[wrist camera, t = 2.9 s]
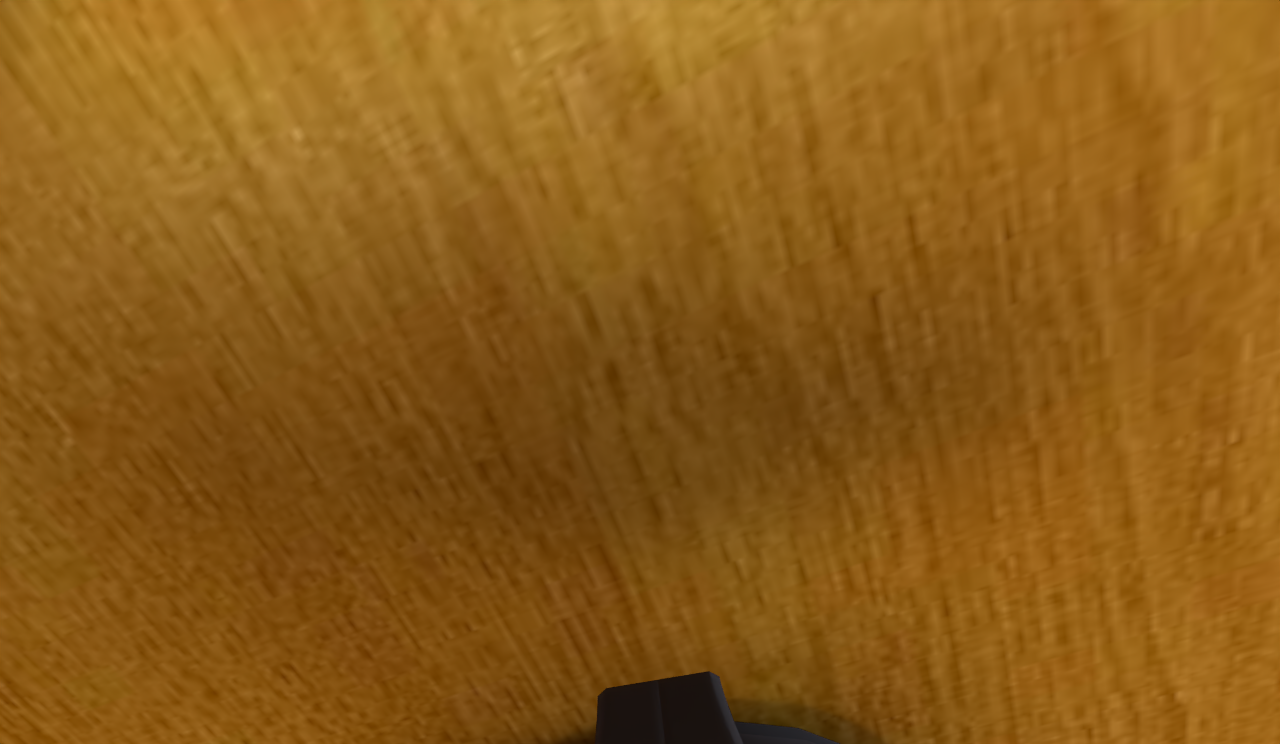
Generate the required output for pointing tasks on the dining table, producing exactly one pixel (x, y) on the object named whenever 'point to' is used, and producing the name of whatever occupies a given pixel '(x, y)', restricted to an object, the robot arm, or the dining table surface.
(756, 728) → the coffee jar
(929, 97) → the dining table surface
